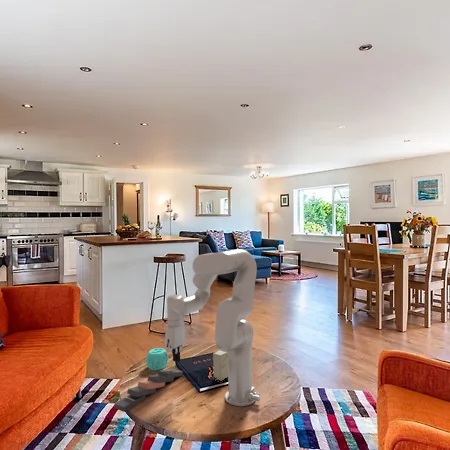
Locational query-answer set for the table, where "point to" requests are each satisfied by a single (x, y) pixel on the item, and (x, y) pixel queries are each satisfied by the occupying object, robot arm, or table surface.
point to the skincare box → (220, 365)
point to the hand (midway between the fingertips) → (176, 360)
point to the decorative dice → (157, 359)
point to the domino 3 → (150, 384)
